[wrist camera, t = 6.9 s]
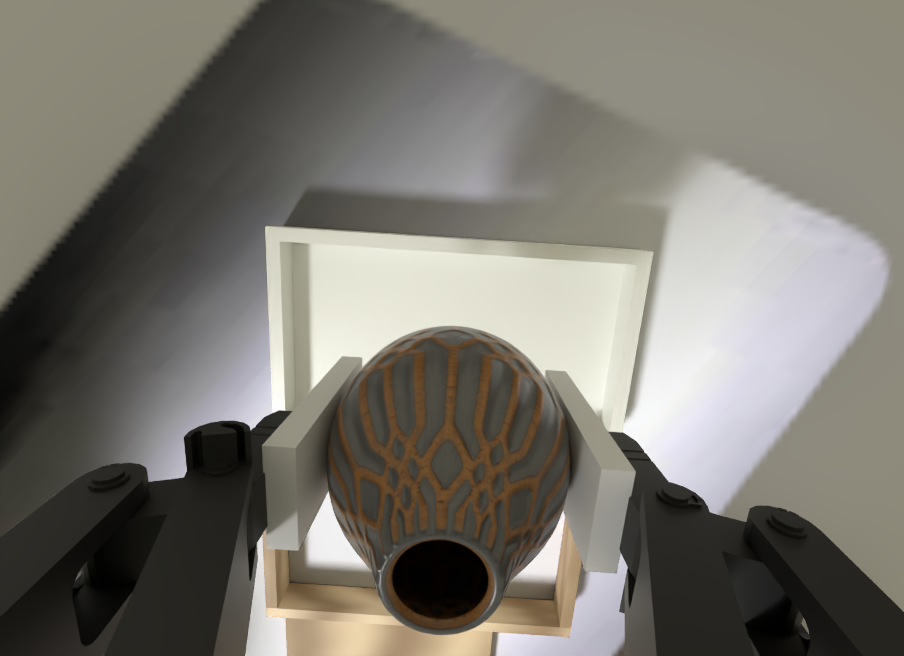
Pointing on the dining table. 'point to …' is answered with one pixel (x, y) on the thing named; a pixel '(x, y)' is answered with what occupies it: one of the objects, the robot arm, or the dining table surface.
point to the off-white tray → (453, 304)
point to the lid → (378, 640)
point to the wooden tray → (369, 609)
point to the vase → (447, 473)
